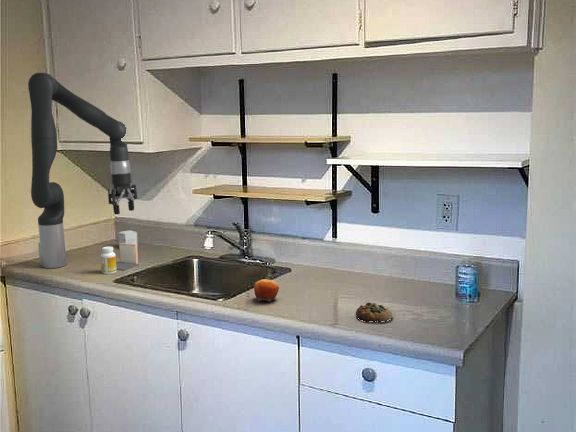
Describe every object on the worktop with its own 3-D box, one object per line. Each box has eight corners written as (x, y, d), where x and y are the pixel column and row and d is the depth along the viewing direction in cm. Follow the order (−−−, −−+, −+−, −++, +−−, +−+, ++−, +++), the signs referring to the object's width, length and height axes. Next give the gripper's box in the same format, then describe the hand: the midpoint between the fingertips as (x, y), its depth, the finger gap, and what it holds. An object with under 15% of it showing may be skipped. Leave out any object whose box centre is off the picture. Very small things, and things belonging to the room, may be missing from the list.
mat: (101, 268, 246) (101, 267, 246) (116, 262, 254) (116, 261, 254) (123, 270, 241) (123, 269, 241) (138, 264, 249) (138, 263, 249)
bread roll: (348, 319, 183) (349, 302, 183) (365, 313, 192) (367, 297, 192) (382, 327, 177) (384, 310, 176) (399, 321, 186) (400, 305, 186)
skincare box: (119, 248, 280) (117, 231, 278) (131, 245, 284) (130, 229, 282) (126, 250, 275) (124, 233, 274) (138, 247, 279) (137, 231, 278)
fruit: (250, 300, 197) (252, 276, 200) (255, 306, 204) (256, 282, 207) (276, 301, 196) (277, 276, 199) (279, 307, 203) (281, 283, 206)
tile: (120, 262, 253) (118, 243, 252) (122, 262, 255) (120, 242, 253) (136, 264, 250) (134, 245, 249) (138, 263, 251) (136, 244, 250)
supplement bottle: (118, 270, 242) (117, 245, 240) (113, 274, 236) (111, 249, 235) (105, 270, 242) (103, 245, 240) (99, 274, 237) (98, 249, 235)
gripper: (125, 170, 256) (128, 209, 259) (100, 174, 243) (104, 215, 246) (140, 170, 253) (143, 209, 255) (115, 174, 240) (119, 215, 243)
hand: (124, 212), depth 251 cm, fingers open, 8 cm apart
